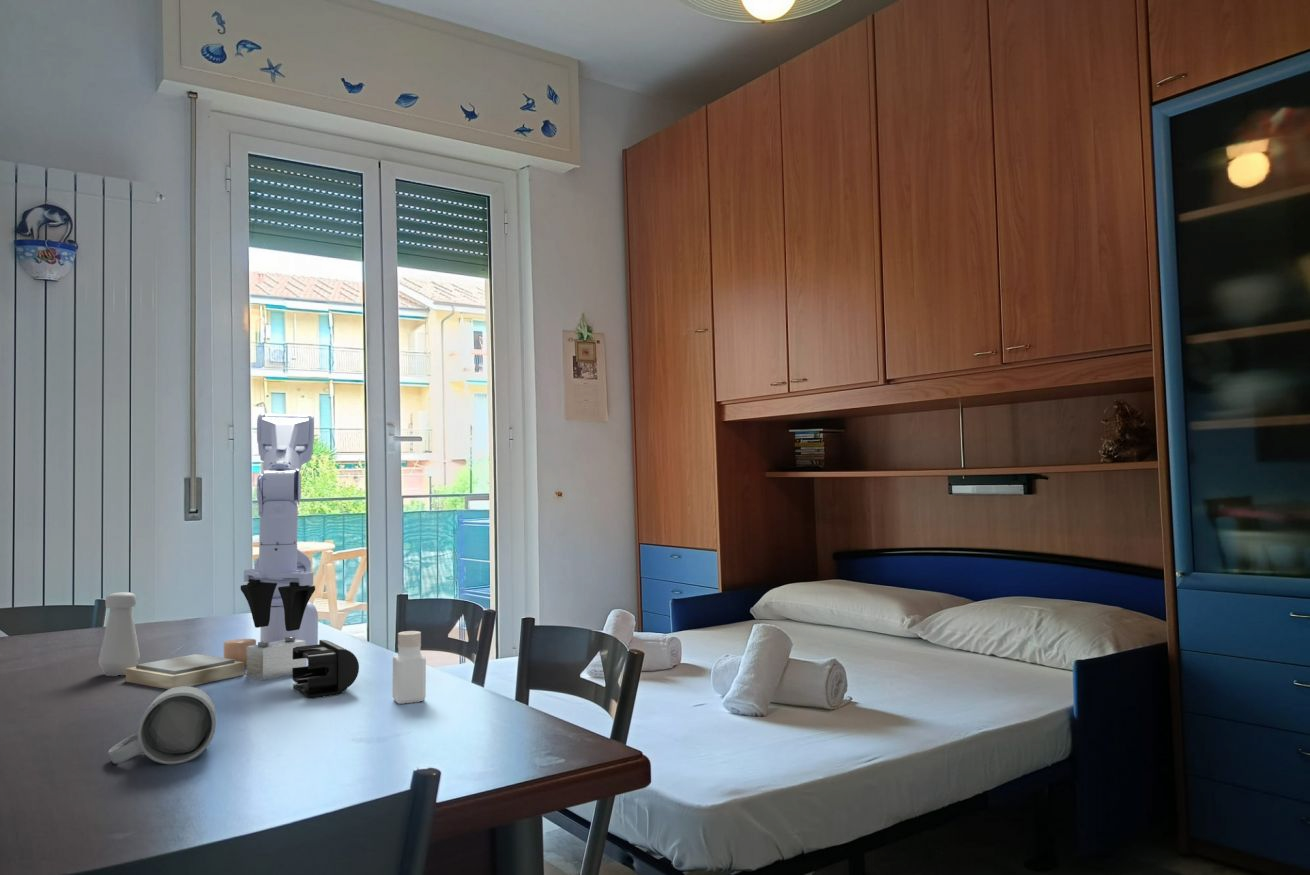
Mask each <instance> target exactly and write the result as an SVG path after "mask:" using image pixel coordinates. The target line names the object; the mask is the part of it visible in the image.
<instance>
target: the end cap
mask: <svg viewBox="0 0 1310 875" xmlns="http://www.w3.org/2000/svg"><path fill="white" fill-rule="evenodd" d="M302 658H306V659H307V665H306V666H303V667H295V668H292V674H291V675H292V676H291V677H292V681H293V682H294V683H293V684H292V688H293V690H294V691H296V692H297V693H299V694H300V695H302V696H303V697H305V698H306V699H308V700H312V699H319V698H320V699H321V698H328V697H335V696H339V695H341V694H342V693H344V692H345V691H346V690H347V689H348V688H350V687H351V686H352V685H353V684H354V682H355V681H356V680H357V679H358V678H357V677H358V675H359V672H360V663H359V660H358V658H357V656H356V655H355V654H354V652H352V651H350V650H349V649H346V648H345V647H342V646H340V645H338V644H336V643H334V642H332V641H329V640H328V639H327V640H325V639H319V640H318V645H309V646H299V647H295V648H293V660H294V659H302Z"/></svg>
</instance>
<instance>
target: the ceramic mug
mask: <svg viewBox="0 0 1310 875" xmlns="http://www.w3.org/2000/svg"><path fill="white" fill-rule="evenodd" d="M213 702H214V701H212V699H211V697H210V696H209V695H208V694H207V693H206V692H204V691H203V690H201V689H200V688H197V687H193V686H181V687H175V688H172V689H166V690H165V691H164V692H162V693H160V694H159V695H158V696H157V697H155V698H154V699H153V701H152V702H151V703H150V704H149V706H148V708H146V710H145V712H143V715H142V716H141V718H140V720H139V723H138V728H137V732H135V733H133V734H131V735H130V736H128V737H125V738H124V739H123V740H121V741H119V742H118V743H116V744H115V745H113V746H112V747H111V748H110V749H109V750H108V752H107V753H108V756H109V758H110V760H111V762H112V764H114V765H115V764H120V763H124V762H126V761H128V760H130V759H132V758H134V757H137V756H138V755H141V754H144V755H145V756H146V757H147V758H148V759H150V760H152V761H153V762H155V763H159V764H163V765H170V766H171V765H180V764H184V763H187V762H189V761H192V760H194V759H195V758H197V757H198V756H200V755H201V754H202V753H203V752H204V751H205V750H206V749H207V748H208V746H209V745H210V743H211V742H212V740H213V738H214V735H215V731H216V724H217V723H216V722H217V721H216V707H215V705H214V703H213Z"/></svg>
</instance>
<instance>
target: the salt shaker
mask: <svg viewBox="0 0 1310 875" xmlns="http://www.w3.org/2000/svg"><path fill="white" fill-rule="evenodd" d="M136 596H137V595H136V594H135V593H133V592H128V591H124V592H121V591H120V592H113V593H109V594H108V595H107V596H106V598H105V603H104V604H105V607H106V609H109V613H108V618H107V623H106V627H105V632H104V635H103V640H102V644H101V648H100V652H99V656H98V661H97V662H98V664H99V667H100V668H101V670H102V671H103V673H104V675H105V677H119V676H118V675H121V676H126V669H127V668H132V667H136V665H138V663H139V661H140V657H141V654H140V649H139V643H138V637H137V631H136V626H135V620H134V619H135V618H134V613H133V607H135V605H136V604H137V597H136Z"/></svg>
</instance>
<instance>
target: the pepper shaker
mask: <svg viewBox="0 0 1310 875" xmlns="http://www.w3.org/2000/svg"><path fill="white" fill-rule="evenodd" d="M421 646H422V631H418V630H407V631H405V630H404V631H400V632H398V633H397V648H398V649H397V651H398V654H397V655H394V656H393V657H392V698H393V700H394V701H395V702H396V703H397V704H399V705H405V703H406V704H411V703H412V704H414V703H421V702H420V701H422V702H423V700H424V701H425V699H426V698H427V697H426V688H427V687H426V684H427V682H426V681H427V679H426V678H427V676H426V674H427V673H426V672H427V671H426V670H427V669H426V668H427V659H426V656H425V655H424V654H423V653H421ZM413 702H414V703H413Z"/></svg>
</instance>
